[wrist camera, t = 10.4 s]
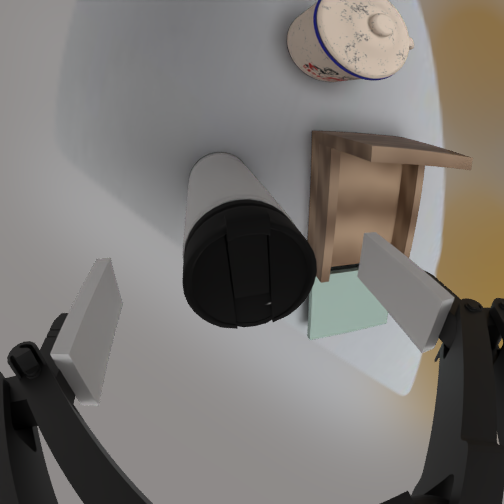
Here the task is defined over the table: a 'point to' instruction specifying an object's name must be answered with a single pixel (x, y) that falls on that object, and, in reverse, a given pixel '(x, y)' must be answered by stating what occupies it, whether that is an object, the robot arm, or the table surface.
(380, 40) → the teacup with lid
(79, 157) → the table surface
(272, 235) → the travel mug
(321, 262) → the cart bed
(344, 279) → the panel
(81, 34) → the table surface
